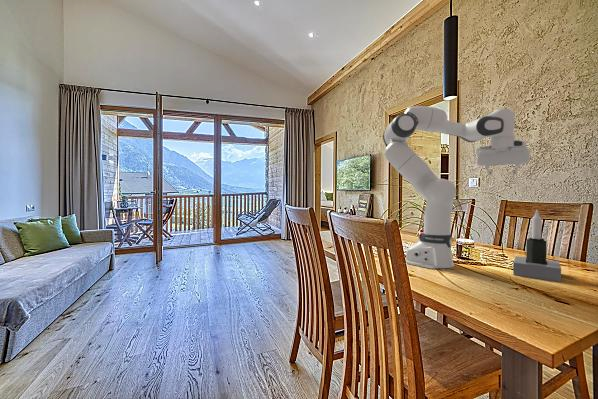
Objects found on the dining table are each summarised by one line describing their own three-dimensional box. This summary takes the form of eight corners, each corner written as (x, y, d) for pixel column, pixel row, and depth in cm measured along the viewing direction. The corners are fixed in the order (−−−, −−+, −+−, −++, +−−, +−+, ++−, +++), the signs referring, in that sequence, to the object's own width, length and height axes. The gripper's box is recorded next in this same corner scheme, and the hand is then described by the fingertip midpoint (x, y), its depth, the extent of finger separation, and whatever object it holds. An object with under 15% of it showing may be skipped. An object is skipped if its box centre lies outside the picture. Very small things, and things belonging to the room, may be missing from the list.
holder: (513, 274, 113) (513, 262, 113) (515, 267, 124) (515, 256, 124) (560, 282, 104) (561, 268, 104) (558, 273, 115) (559, 261, 115)
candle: (538, 270, 116) (540, 209, 115) (547, 273, 111) (548, 210, 110) (524, 269, 117) (525, 209, 116) (532, 273, 112) (533, 210, 111)
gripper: (475, 146, 136) (475, 175, 137) (530, 141, 123) (529, 173, 124) (477, 147, 141) (477, 175, 142) (530, 143, 128) (529, 173, 128)
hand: (502, 174), depth 132 cm, fingers open, 8 cm apart
